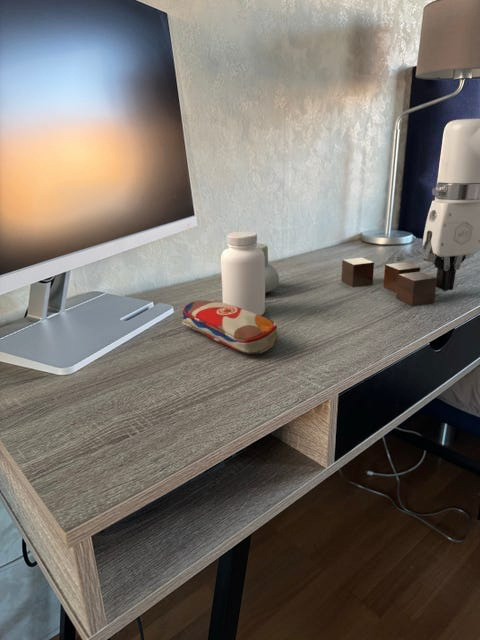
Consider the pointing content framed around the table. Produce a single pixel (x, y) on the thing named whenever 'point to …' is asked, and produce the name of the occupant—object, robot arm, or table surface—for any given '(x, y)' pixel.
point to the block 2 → (416, 288)
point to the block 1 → (357, 272)
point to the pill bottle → (243, 273)
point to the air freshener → (269, 271)
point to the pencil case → (231, 326)
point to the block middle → (393, 272)
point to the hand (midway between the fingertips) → (443, 288)
